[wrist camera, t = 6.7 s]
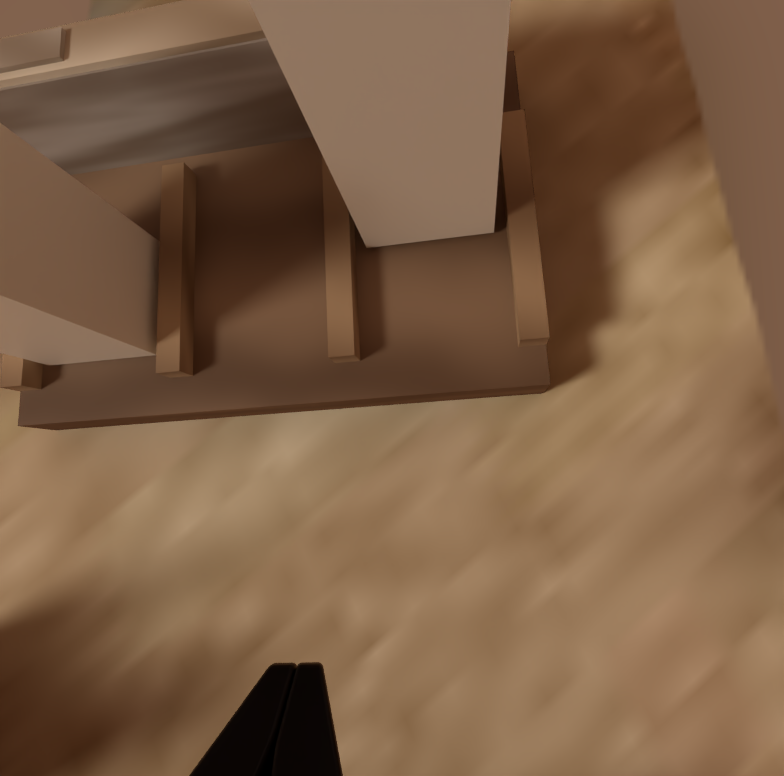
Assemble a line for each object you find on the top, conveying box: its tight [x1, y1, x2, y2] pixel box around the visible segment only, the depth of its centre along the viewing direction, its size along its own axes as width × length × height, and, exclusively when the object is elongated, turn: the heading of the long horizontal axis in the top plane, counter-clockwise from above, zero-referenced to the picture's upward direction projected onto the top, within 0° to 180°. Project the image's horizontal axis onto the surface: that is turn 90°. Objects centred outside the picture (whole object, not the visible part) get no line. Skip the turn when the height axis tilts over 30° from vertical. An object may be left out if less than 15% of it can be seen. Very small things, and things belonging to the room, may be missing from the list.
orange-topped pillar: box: [249, 0, 511, 248], centre depth 14 cm, size 5×5×13 cm
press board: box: [0, 0, 550, 430], centre depth 20 cm, size 14×22×8 cm, turn 93°
